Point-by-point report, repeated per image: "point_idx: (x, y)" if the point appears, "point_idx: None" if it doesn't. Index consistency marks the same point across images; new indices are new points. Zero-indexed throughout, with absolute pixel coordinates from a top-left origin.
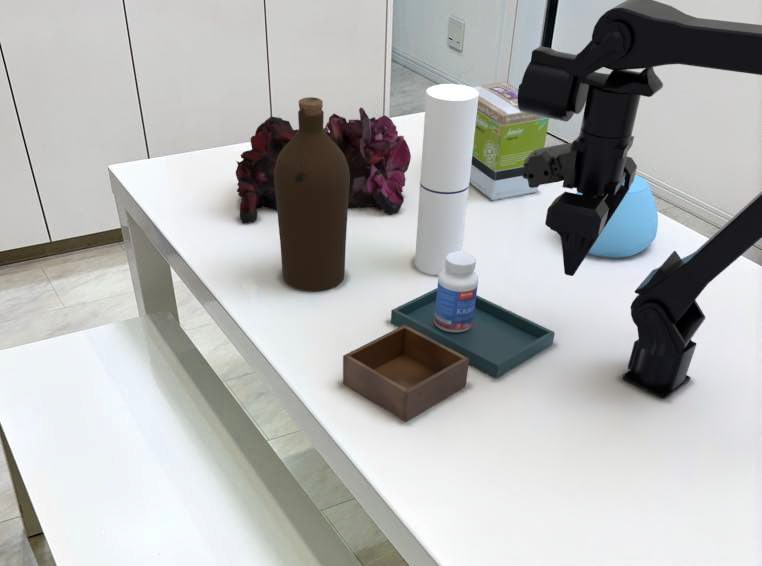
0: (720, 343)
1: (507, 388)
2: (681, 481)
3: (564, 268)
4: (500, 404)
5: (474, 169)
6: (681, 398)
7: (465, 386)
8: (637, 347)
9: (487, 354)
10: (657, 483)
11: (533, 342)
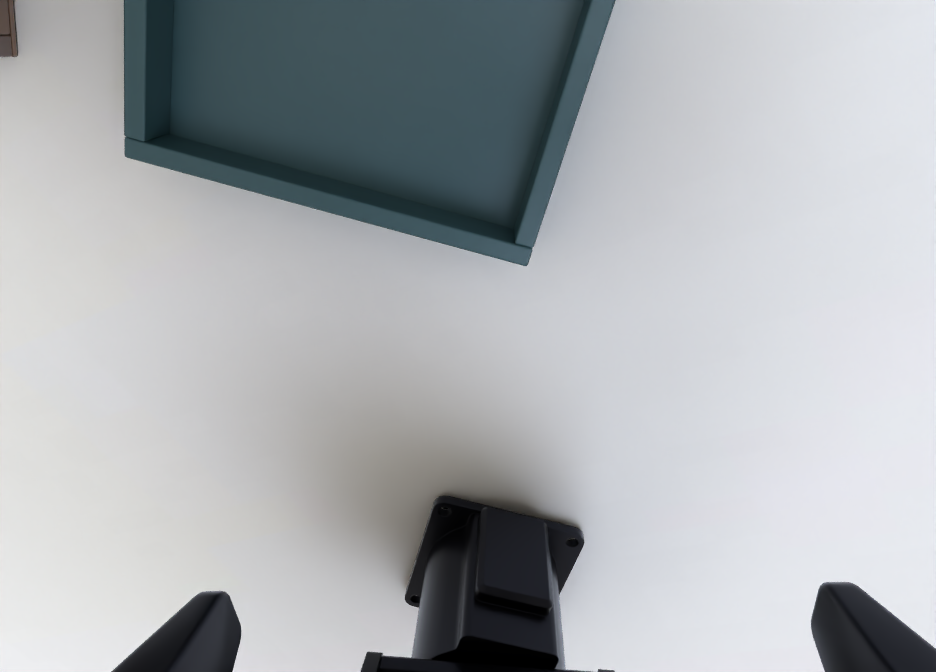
0: (789, 649)
1: (140, 209)
2: None
3: (154, 633)
4: (40, 227)
5: None
6: None
7: (12, 56)
8: (464, 591)
9: (259, 35)
10: (90, 632)
11: (392, 217)
